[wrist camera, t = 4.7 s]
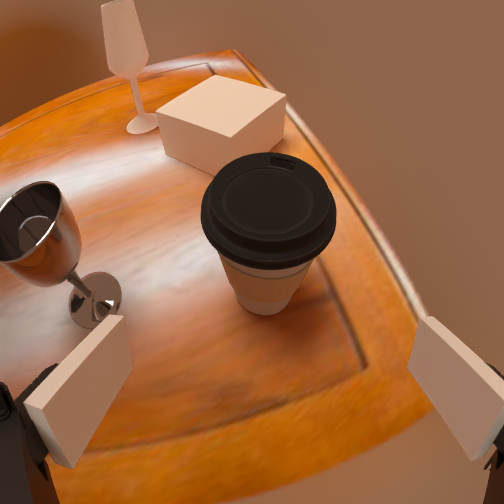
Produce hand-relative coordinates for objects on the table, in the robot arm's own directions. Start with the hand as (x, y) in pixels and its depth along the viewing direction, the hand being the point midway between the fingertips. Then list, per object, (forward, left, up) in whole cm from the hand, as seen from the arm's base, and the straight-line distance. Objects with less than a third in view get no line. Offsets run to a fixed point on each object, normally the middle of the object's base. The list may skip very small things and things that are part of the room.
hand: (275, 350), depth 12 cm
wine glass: (-3, +21, -17) cm, 27 cm away
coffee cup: (+9, +6, -17) cm, 20 cm away
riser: (+26, +24, -17) cm, 39 cm away
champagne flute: (+24, +41, -17) cm, 50 cm away
